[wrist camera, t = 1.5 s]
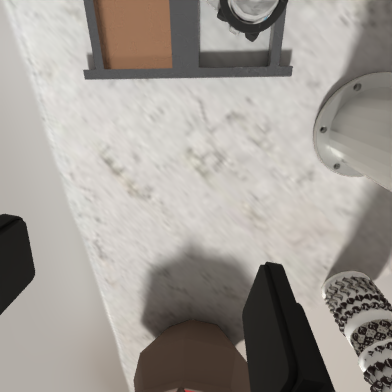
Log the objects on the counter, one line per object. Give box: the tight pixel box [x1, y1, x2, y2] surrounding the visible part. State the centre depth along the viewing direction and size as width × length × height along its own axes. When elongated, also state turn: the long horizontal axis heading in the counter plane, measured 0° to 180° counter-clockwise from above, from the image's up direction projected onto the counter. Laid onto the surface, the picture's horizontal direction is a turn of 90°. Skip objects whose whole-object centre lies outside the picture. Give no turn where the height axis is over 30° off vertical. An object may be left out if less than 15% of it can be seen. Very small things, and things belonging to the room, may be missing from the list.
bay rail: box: [83, 0, 293, 80], centre depth 25 cm, size 24×12×2 cm, turn 91°
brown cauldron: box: [134, 319, 251, 392], centre depth 43 cm, size 24×24×16 cm
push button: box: [207, 0, 288, 42], centre depth 21 cm, size 7×5×10 cm
